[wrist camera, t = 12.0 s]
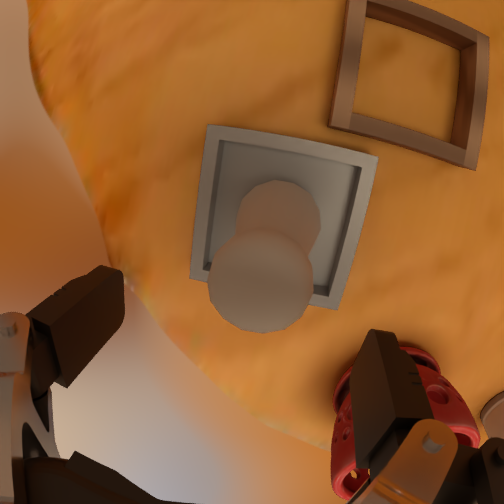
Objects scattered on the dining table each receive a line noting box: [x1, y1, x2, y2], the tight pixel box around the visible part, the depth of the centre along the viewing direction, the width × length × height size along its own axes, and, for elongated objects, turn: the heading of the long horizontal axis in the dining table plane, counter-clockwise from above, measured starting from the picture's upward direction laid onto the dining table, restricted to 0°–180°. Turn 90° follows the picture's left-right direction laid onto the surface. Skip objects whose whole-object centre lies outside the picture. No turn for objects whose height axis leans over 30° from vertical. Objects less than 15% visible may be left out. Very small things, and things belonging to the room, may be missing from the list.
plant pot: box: [331, 347, 480, 501], centre depth 23 cm, size 13×13×12 cm
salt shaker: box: [207, 180, 321, 333], centre depth 18 cm, size 6×6×13 cm
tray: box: [190, 124, 379, 310], centre depth 23 cm, size 12×12×2 cm
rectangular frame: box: [328, 0, 489, 171], centre depth 18 cm, size 11×11×3 cm
